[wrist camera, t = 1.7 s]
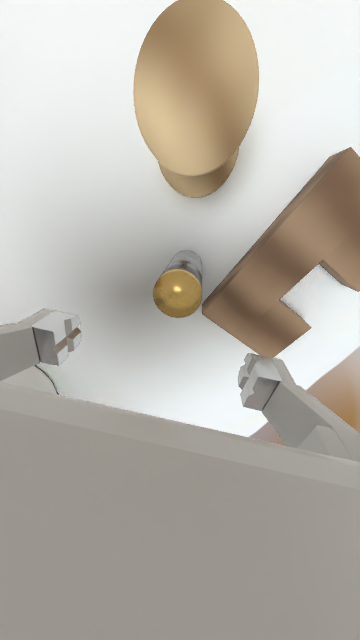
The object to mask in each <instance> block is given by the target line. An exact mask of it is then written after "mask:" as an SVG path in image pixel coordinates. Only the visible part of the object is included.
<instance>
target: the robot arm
mask: <svg viewBox="0 0 360 640" xmlns="http://www.w3.org/2000/svg"><path fill="white" fill-rule="evenodd" d="M79 325H80V318H79V317H78V316H77V315H73V314H69V313H64V312H60V311H56V310H51V309H42V310H41V311H39V312H37V313H35V314H33V315H32V316H30V317H28V318H26V319H24V320H23V321H21V322H19V323H17V324H14V323H11V324H6V325H1V326H0V640H360V434H359V433H358V432H357V431H356V430H354V429H353V428H352V427H351V426H349V425H348V424H347V423H345V422H344V421H343V420H342V419H341V418H339V417H338V416H337V415H336V414H334V413H333V412H332V411H331V410H329V409H328V408H327V407H325V406H324V405H323V404H322V403H320V402H319V401H318V400H317V399H315V398H314V397H313V396H312V395H311V394H309V393H308V392H307V391H306V390H304V389H303V388H302V387H301V386H298V385H296V384H295V382H294V380H293V378H292V377H291V375H290V373H289V371H288V369H287V367H286V366H285V364H284V362H283V361H282V360H281V359H277V358H272V357H266V356H261V355H256V354H251V353H248V354H247V355H246V357H245V359H244V361H245V365H243V366H242V367H241V368H240V371H239V375H238V385H239V387H240V388H241V389H242V392H241V394H240V395H241V399H242V404H243V407H247V408H251V409H255V410H259V411H262V413H263V414H264V416H265V417H266V418H267V420H268V421H269V422H270V424H271V425H272V426H273V428H274V429H275V430H276V432H277V433H278V434H279V436H280V437H281V438H282V439H283V441H284V442H285V444H286V445H287V446H285V445H280V444H276V443H272V442H267V441H262V440H258V439H253V438H249V437H244V436H240V435H235V434H231V433H227V432H222V431H218V430H213V429H209V428H204V427H200V426H195V425H191V424H186V423H182V422H178V421H173V420H169V419H164V418H160V417H155V416H151V415H146V414H142V413H137V412H133V411H128V410H124V409H119V408H115V407H110V406H106V405H101V404H97V403H92V402H88V401H83V400H79V399H74V398H70V397H65V396H61V395H58V394H57V393H56V390H55V388H54V385H53V384H52V382H51V381H50V379H49V378H48V377H47V376H46V375H45V374H44V373H43V372H42V371H41V370H39V369H38V368H36V367H35V365H37V364H39V363H40V362H42V363H47V364H53V365H58V366H59V365H60V364H61V363H62V362H63V361H64V360H65V359H66V358H67V357H68V352H71V351H73V350H75V349H76V348H77V347H78V345H79V343H80V341H81V331H80V330H79V328H78V326H79Z"/></svg>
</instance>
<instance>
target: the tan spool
mask: <svg viewBox="0 0 360 640" xmlns="http://www.w3.org/2000/svg"><path fill="white" fill-rule="evenodd" d="M258 88H259V66H258V59H257V53H256V49H255V45H254V41H253V39H252V36H251V33H250V31H249V29H248V27H247V25H246V23H245V22H244V20H243V19H242V17H241V16H240V15H239V13H238V12H237V11H236V10H235V9H234V8H233V7H232V6H231V5H229V4H228V3H226V2H225V1H223V0H178V1H176V2H174V3H173V4H172V5H170V6H169V7H168V8H166V9H165V10H164V11H163V12H162V13H161V14H160V15H159V17H158V18H157V19H156V21H155V22H154V23H153V25H152V26H151V28H150V30H149V31H148V33H147V35H146V37H145V39H144V42H143V44H142V46H141V49H140V53H139V56H138V59H137V64H136V68H135V76H134V92H133V93H134V107H135V113H136V118H137V122H138V126H139V129H140V131H141V134H142V136H143V139H144V141H145V143H146V144H147V146H148V148H149V149H150V151H151V152H152V153H153V155H154V156H155V157H156V159H157V160H158V162H159V166H160V169H161V171H162V173H163V176H164V177H165V179H166V181H167V182H168V183H169V184H170V185H171V187H173V188H174V189H175V190H176V191H177V192H179V193H180V194H182V195H185V196H187V197H194V198H198V197H203V196H207V195H209V194H211V193H213V192H214V191H216V190H217V189H218V188H220V186H221V185H222V184H223V183H224V182H225V181H226V179H227V178H228V176H229V175H230V173H231V171H232V169H233V167H234V165H235V162H236V159H237V155H238V150H239V146H240V144H241V142H242V140H243V139H244V137H245V135H246V133H247V130H248V128H249V126H250V124H251V121H252V118H253V115H254V111H255V107H256V103H257V97H258Z"/></svg>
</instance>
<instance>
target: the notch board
mask: <svg viewBox="0 0 360 640" xmlns="http://www.w3.org/2000/svg"><path fill="white" fill-rule="evenodd" d="M317 264H320V265H321V266H322V267H323V268H324V269H326V270H327V271H328V272H329V273H330V274H331V275H332V276H333V277H334V278H335V279H336V280H337V281H339V282H340V283H341V284H342V285H345V286H347V287H349V288H351V289H353V290H355V291H357V292H359V291H360V157H359V156H358V155H357V154H356V152H355V151H354V150H353V149H352V148H351V147H350V148H348V149H345V150H343V151H341V152H339V153H337V154H335V155H333V156H331V157H329V158H328V160H327V161H326V162H325V163H324V164H323V165H322V167H321V168H320V169H319V170H318V171H317V172H316V174H315V175H314V176H313V177H312V178H311V179H310V180H309V182H308V183H307V184H306V185H305V186H304V187H303V189H302V190H301V191H300V192H299V193H298V194H297V196H296V197H295V198H294V199H293V200H292V201H291V202H290V204H289V205H288V206H287V207H286V208H285V209H284V211H283V212H282V213H281V214H280V215H279V216H278V217H277V219H276V220H275V221H274V222H273V223H272V224H271V226H270V227H269V228H268V229H267V230H266V231H265V233H264V234H263V235H262V236H261V237H260V238H259V239H258V241H257V242H256V243H255V244H254V245H253V246H252V248H251V249H250V250H249V251H248V252H247V253H246V254H245V256H244V257H243V258H242V259H241V260H240V261H239V263H238V264H237V265H236V266H235V267H234V268H233V270H232V271H231V272H230V273H229V274H228V275H227V276H226V278H225V279H224V280H223V281H222V282H221V283H220V285H219V286H218V287H217V288H216V289H215V290H214V291H213V293H212V294H211V295H210V296H209V297H208V298H207V300H206V301H205V302H204V303H203V304H202V314H203V315H204V316H206V317H207V318H208V319H210V320H211V321H213V322H214V323H215V324H217V325H218V326H220V327H221V328H223V329H224V330H225V331H227V332H228V333H230V334H231V335H232V336H234V337H235V338H237V339H238V340H239V341H241V342H242V343H244V344H245V345H247V346H248V347H249V348H251V349H252V350H254V351H255V352H256V353H258V354H259V355H261V356H266V357H272V358H273V357H275V356H276V355H277V354H279V353H280V352H281V351H282V350H284V349H285V348H286V347H288V346H289V345H290V344H291V343H293V342H294V341H295V340H297V339H298V338H299V337H300V336H302V335H303V334H304V333H306V332H307V331H308V330H310V329H311V327H310V326H309V325H308V324H307V323H306V322H305V321H304V320H303V319H302V318H301V317H300V316H299V315H298V314H297V313H295V312H294V311H293V310H292V309H290V308H289V307H288V306H287V305H285V304H284V303H283V302H282V301H281V300H279V299H281V298H282V297H283V296H284V295H285V294H286V293H287V292H288V291H289V290H290V289H291V288H292V287H294V286H295V285H296V284H297V283H298V282H299V281H300V280H301V279H302V278H303V277H304V276H305V275H307V274H308V273H309V272H310V271H311V270H312V269H313V268H314V267H315V266H316V265H317Z"/></svg>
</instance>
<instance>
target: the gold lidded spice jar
mask: <svg viewBox="0 0 360 640" xmlns="http://www.w3.org/2000/svg"><path fill="white" fill-rule="evenodd" d="M153 297H154V301H155V303H156V305H157V307H158V308H159V309H160V310H161V311H162V312H163V313H164V314H166V315H168V316H171V317H175V318H182V317H186V316H189V315H191V314H193V313H194V312H195V311H196V310H197V309H198V307H199V306H200V303H201V300H202V264H201V260H200V258H199V256H198V255H197V254H196V253H194V252H192V251H188V250H185V251H181V252H179V253H177V254H176V255H175V256H174V258H173V259H172V260H171V262H170V263H169V265H168V266H167V268H166V269H165V271H164V272H163V273H162V275H161V276H160V278H159V279H158V281H157V282H156V284H155V286H154V290H153Z"/></svg>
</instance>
